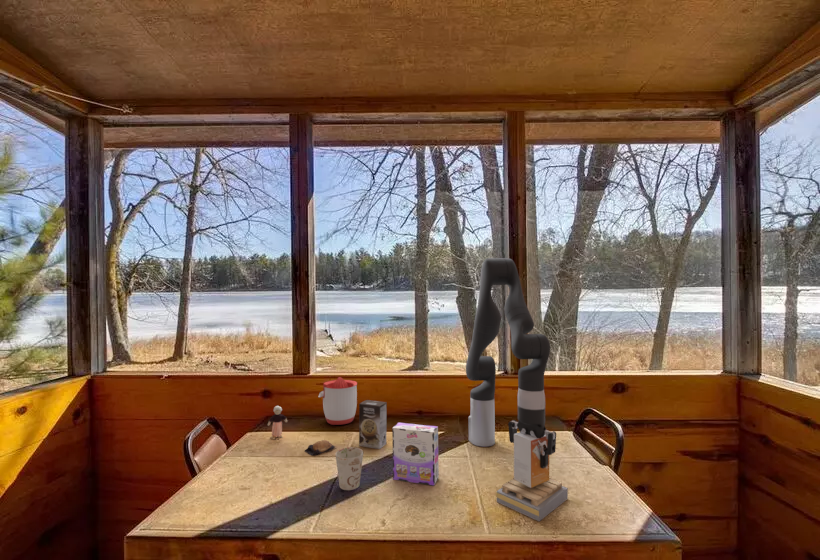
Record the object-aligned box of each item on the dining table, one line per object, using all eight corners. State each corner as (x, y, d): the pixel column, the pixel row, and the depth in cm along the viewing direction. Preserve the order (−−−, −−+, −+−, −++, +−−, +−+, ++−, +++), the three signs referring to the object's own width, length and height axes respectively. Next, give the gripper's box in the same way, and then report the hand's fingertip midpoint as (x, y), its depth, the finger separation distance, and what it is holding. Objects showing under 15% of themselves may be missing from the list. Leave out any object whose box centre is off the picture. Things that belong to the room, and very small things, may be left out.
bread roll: (325, 444, 156) (325, 434, 156) (338, 449, 150) (338, 439, 150) (301, 452, 148) (301, 442, 148) (314, 458, 142) (314, 448, 142)
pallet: (501, 491, 112) (501, 485, 112) (527, 474, 122) (527, 469, 122) (537, 506, 104) (537, 500, 104) (562, 487, 114) (562, 482, 114)
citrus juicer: (318, 417, 186) (318, 374, 186) (355, 414, 190) (355, 372, 190) (318, 429, 170) (318, 382, 171) (359, 425, 175) (359, 379, 175)
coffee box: (358, 446, 152) (358, 403, 152) (366, 440, 158) (366, 399, 158) (379, 449, 149) (379, 406, 149) (387, 443, 155) (387, 401, 155)
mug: (340, 495, 116) (340, 460, 117) (328, 477, 127) (328, 445, 128) (367, 488, 120) (367, 454, 120) (353, 471, 131) (353, 440, 132)
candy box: (439, 477, 127) (439, 425, 127) (434, 486, 121) (433, 432, 121) (398, 471, 131) (398, 421, 131) (392, 479, 125) (391, 427, 126)
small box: (531, 488, 108) (530, 440, 108) (513, 479, 114) (512, 433, 114) (550, 480, 113) (549, 434, 113) (532, 472, 118) (531, 427, 118)
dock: (495, 501, 112) (495, 491, 112) (526, 482, 123) (526, 472, 123) (538, 521, 103) (538, 510, 103) (567, 498, 114) (567, 488, 114)
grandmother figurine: (270, 440, 158) (270, 408, 158) (266, 438, 161) (266, 406, 161) (288, 436, 163) (288, 404, 163) (285, 433, 166) (285, 402, 166)
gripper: (502, 401, 116) (502, 459, 116) (548, 413, 106) (549, 476, 105) (516, 396, 121) (516, 451, 121) (561, 407, 111) (562, 467, 110)
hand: (531, 463), depth 113 cm, fingers closed on small box, 6 cm apart
